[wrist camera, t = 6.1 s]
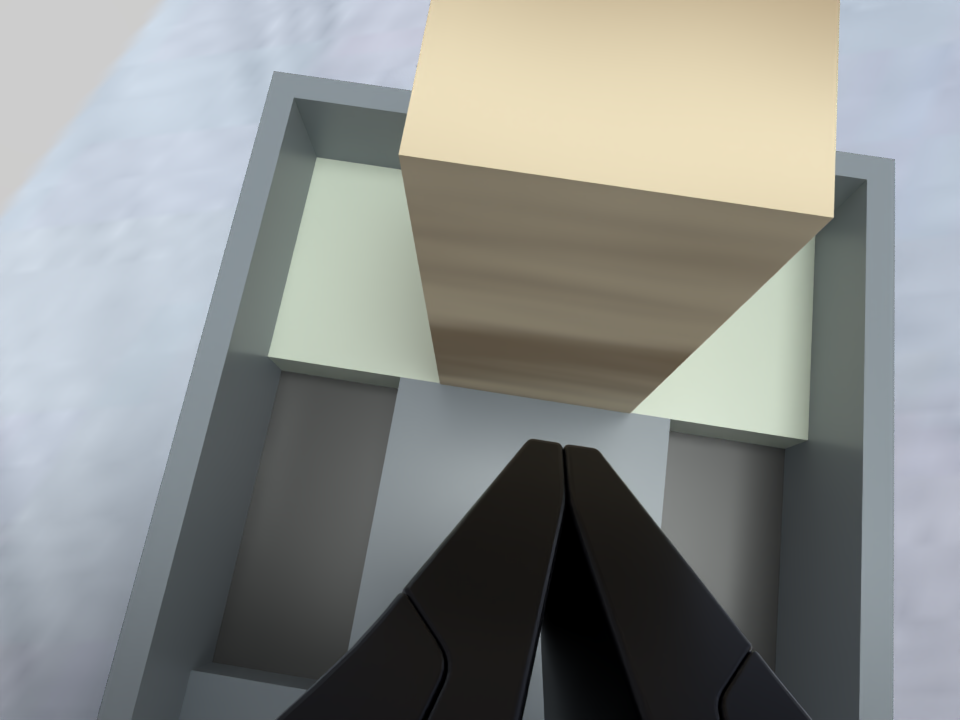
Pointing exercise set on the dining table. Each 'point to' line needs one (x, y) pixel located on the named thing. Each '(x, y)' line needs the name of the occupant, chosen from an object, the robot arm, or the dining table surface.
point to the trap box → (495, 440)
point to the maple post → (610, 181)
